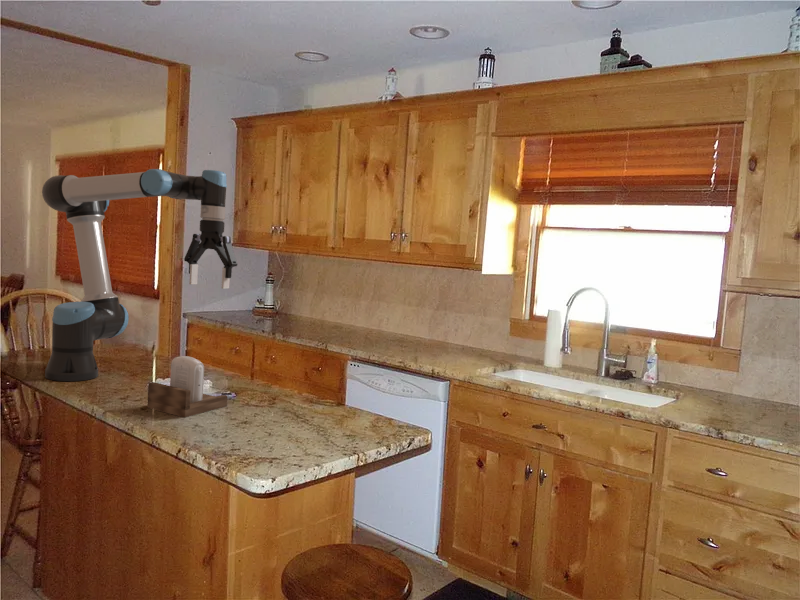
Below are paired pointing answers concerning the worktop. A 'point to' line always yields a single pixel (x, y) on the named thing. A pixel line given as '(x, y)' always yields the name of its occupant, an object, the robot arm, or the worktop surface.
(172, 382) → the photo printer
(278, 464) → the worktop surface
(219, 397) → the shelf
